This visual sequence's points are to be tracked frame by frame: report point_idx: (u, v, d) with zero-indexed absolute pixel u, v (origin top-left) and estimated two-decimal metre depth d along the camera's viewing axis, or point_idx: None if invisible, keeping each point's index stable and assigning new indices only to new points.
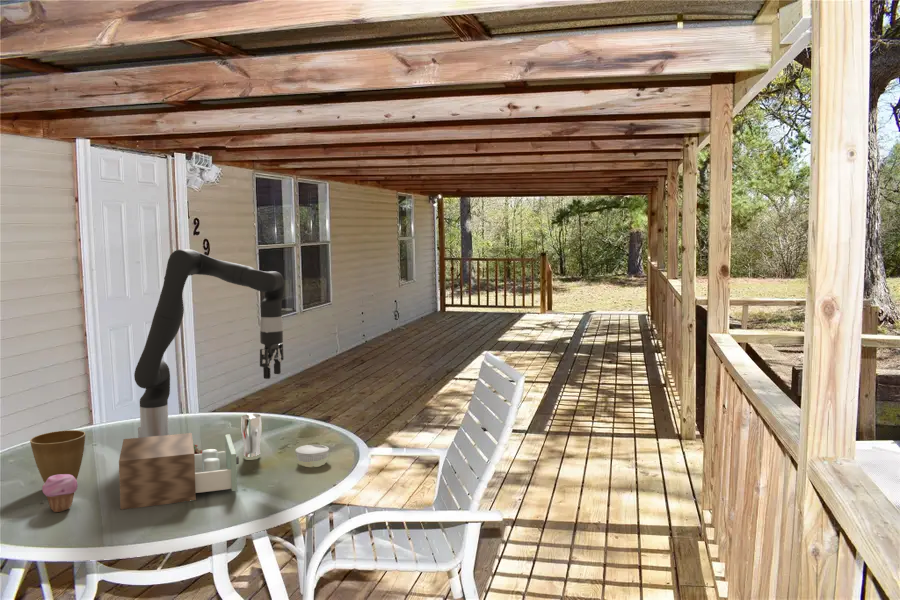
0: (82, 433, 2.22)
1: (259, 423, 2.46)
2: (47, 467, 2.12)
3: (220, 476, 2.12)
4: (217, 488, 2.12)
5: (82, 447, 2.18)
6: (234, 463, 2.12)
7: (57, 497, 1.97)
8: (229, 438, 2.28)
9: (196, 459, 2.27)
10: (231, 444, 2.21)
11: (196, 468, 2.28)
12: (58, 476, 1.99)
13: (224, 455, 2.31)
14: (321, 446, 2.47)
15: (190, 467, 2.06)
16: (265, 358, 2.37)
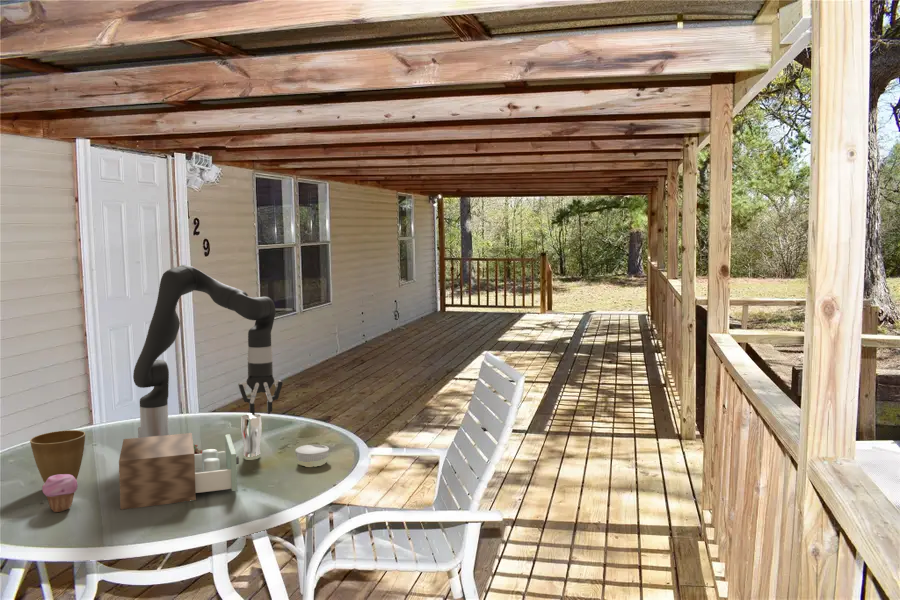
0: (82, 433, 2.22)
1: (259, 423, 2.46)
2: (47, 467, 2.12)
3: (220, 476, 2.12)
4: (217, 488, 2.12)
5: (82, 447, 2.18)
6: (234, 463, 2.12)
7: (57, 497, 1.97)
8: (229, 438, 2.28)
9: (196, 459, 2.27)
10: (231, 444, 2.21)
11: (196, 468, 2.28)
12: (58, 476, 1.99)
13: (224, 455, 2.31)
14: (321, 446, 2.47)
15: (190, 467, 2.06)
16: None
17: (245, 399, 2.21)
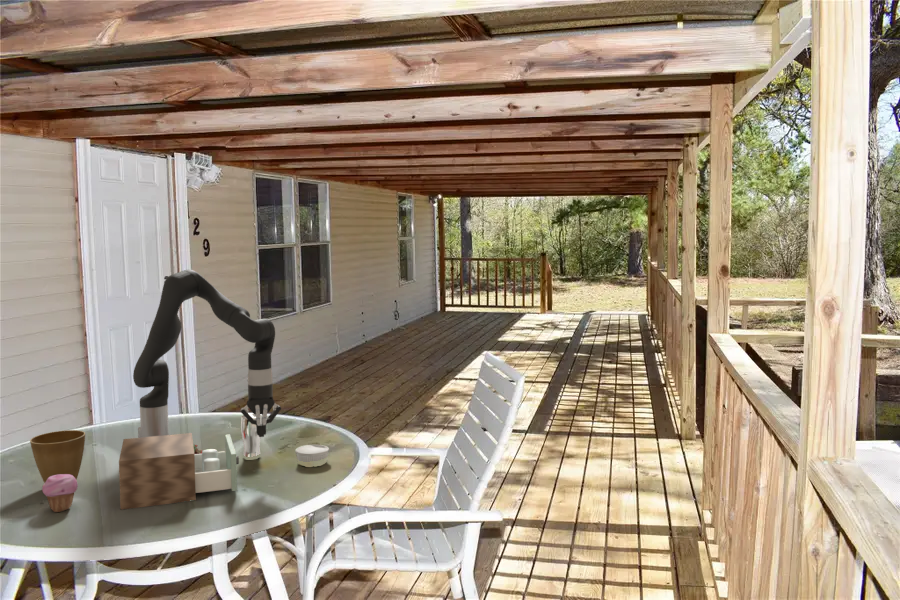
0: (82, 433, 2.22)
1: None
2: (47, 467, 2.12)
3: (220, 476, 2.12)
4: (217, 488, 2.12)
5: (82, 447, 2.18)
6: (234, 463, 2.12)
7: (57, 497, 1.97)
8: (229, 438, 2.28)
9: (196, 459, 2.27)
10: (231, 444, 2.21)
11: (196, 468, 2.28)
12: (58, 476, 1.99)
13: (224, 455, 2.31)
14: (321, 446, 2.47)
15: (190, 467, 2.06)
16: None
17: (252, 421, 2.23)
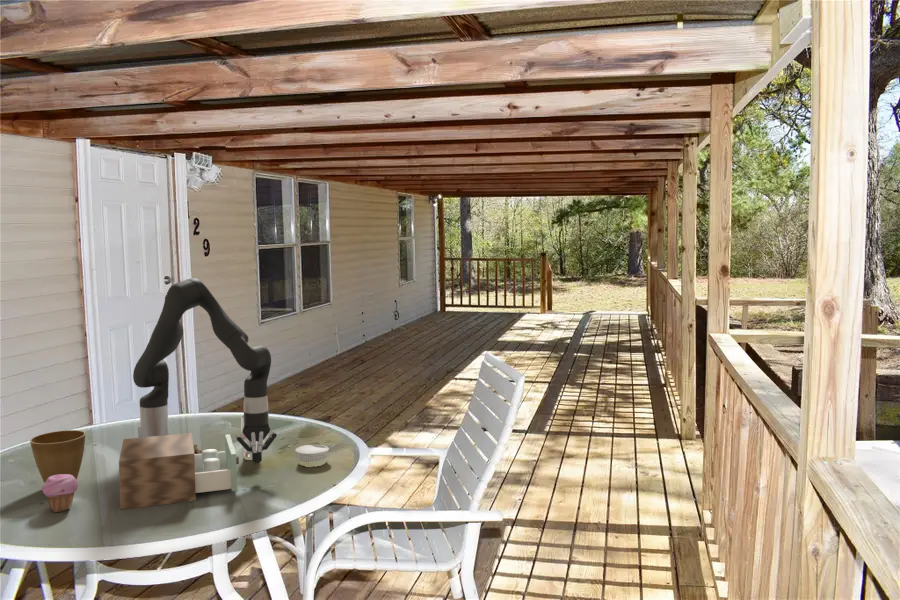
0: (82, 433, 2.22)
1: None
2: (47, 467, 2.12)
3: (220, 476, 2.12)
4: (217, 488, 2.12)
5: (82, 447, 2.18)
6: (234, 463, 2.12)
7: (57, 497, 1.97)
8: (229, 438, 2.28)
9: (196, 459, 2.27)
10: (231, 444, 2.21)
11: (196, 468, 2.28)
12: (58, 476, 1.99)
13: (224, 455, 2.31)
14: (321, 446, 2.47)
15: (190, 467, 2.06)
16: None
17: (247, 449, 2.23)
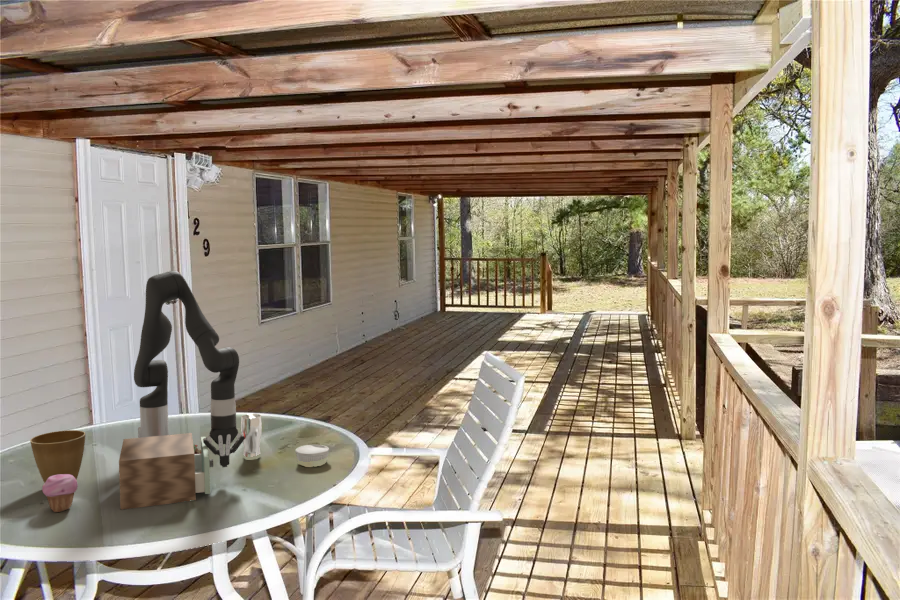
0: (82, 433, 2.22)
1: (259, 423, 2.46)
2: (47, 467, 2.12)
3: None
4: None
5: (82, 447, 2.18)
6: (207, 466, 2.09)
7: (57, 497, 1.97)
8: None
9: None
10: (205, 447, 2.18)
11: None
12: (58, 476, 1.99)
13: (199, 458, 2.28)
14: (321, 446, 2.47)
15: (190, 467, 2.06)
16: None
17: (215, 452, 2.19)
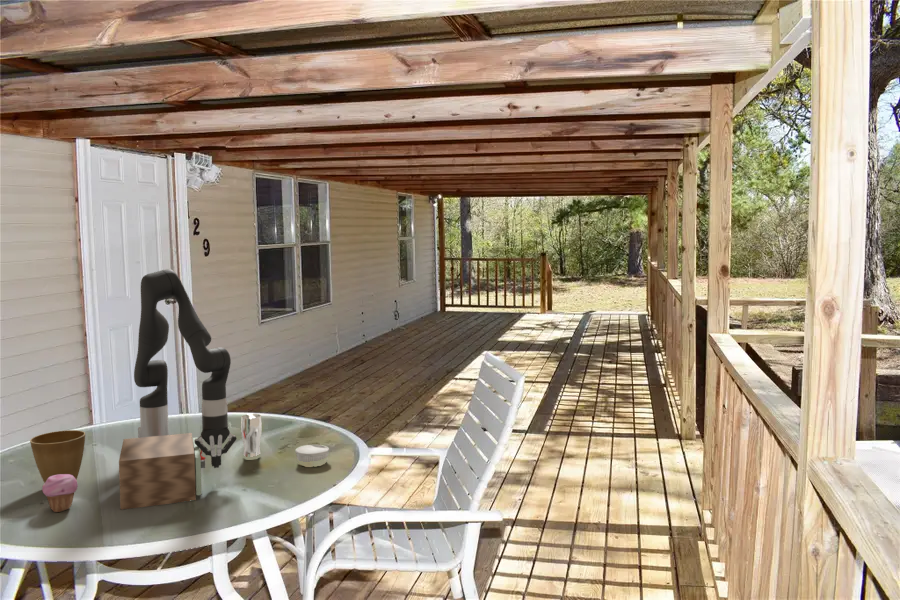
0: (82, 433, 2.22)
1: (259, 423, 2.46)
2: (47, 467, 2.12)
3: None
4: None
5: (82, 447, 2.18)
6: (198, 467, 2.08)
7: (57, 497, 1.97)
8: None
9: None
10: (197, 447, 2.17)
11: None
12: (58, 476, 1.99)
13: None
14: (321, 446, 2.47)
15: (190, 467, 2.06)
16: None
17: (206, 452, 2.18)
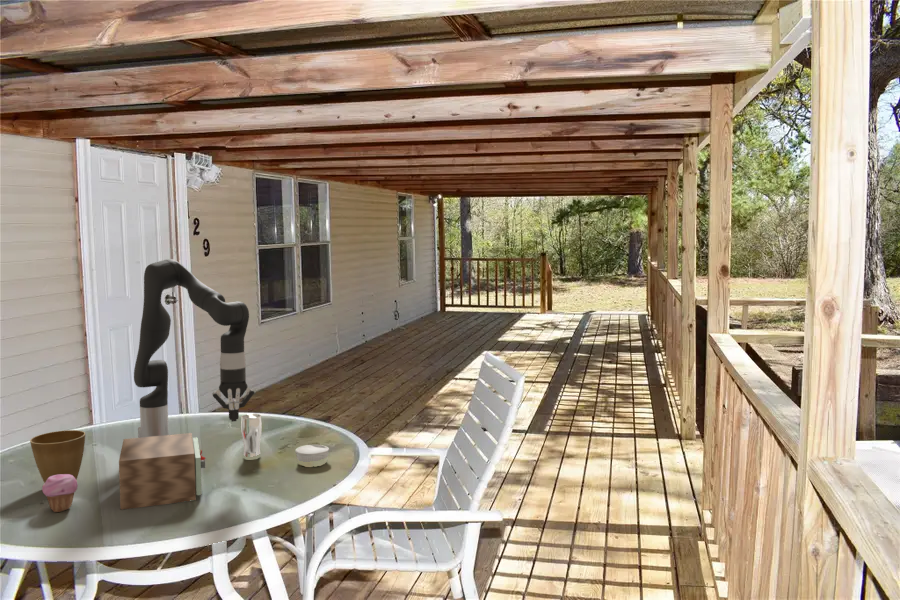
0: (82, 433, 2.22)
1: (259, 423, 2.46)
2: (47, 467, 2.12)
3: None
4: None
5: (82, 447, 2.18)
6: (198, 467, 2.08)
7: (57, 497, 1.97)
8: (196, 441, 2.24)
9: None
10: (197, 447, 2.17)
11: None
12: (58, 476, 1.99)
13: None
14: (321, 446, 2.47)
15: (190, 467, 2.06)
16: None
17: (224, 406, 2.19)
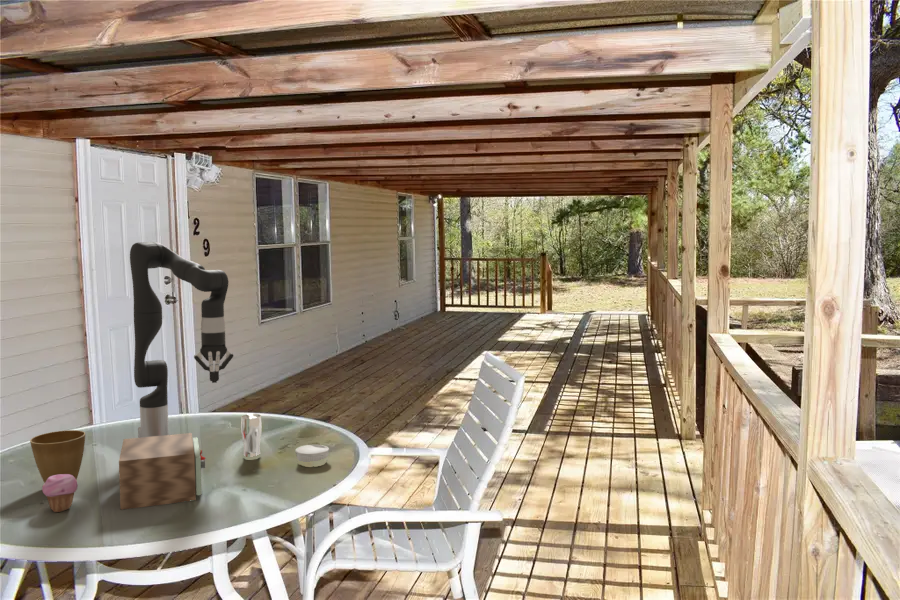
0: (82, 433, 2.22)
1: (259, 423, 2.46)
2: (47, 467, 2.12)
3: None
4: None
5: (82, 447, 2.18)
6: (198, 467, 2.08)
7: (57, 497, 1.97)
8: (196, 441, 2.24)
9: None
10: (197, 447, 2.17)
11: None
12: (58, 476, 1.99)
13: None
14: (321, 446, 2.47)
15: (190, 467, 2.06)
16: None
17: (205, 368, 2.33)
